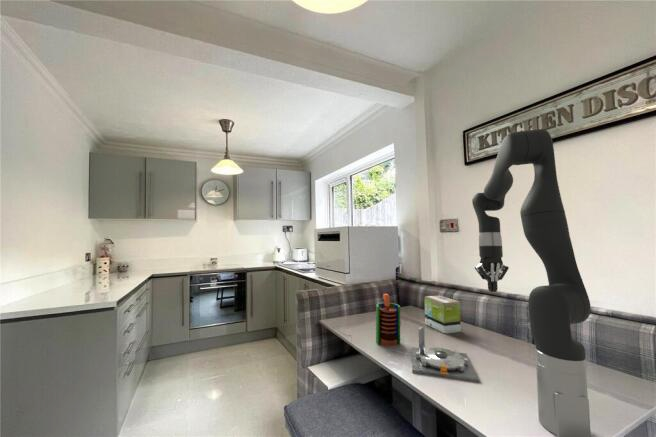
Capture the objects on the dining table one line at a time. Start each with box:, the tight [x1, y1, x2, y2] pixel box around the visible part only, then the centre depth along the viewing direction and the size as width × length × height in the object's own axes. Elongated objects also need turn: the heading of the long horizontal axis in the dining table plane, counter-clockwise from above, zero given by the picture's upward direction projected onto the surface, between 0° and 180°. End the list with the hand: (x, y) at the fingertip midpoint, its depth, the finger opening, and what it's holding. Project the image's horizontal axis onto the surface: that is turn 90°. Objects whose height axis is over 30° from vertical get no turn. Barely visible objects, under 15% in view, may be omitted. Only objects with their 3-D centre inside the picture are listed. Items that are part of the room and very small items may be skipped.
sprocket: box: [416, 326, 468, 372], centre depth 97 cm, size 17×17×10 cm
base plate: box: [411, 346, 480, 383], centre depth 97 cm, size 20×20×1 cm
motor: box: [375, 293, 401, 347], centre depth 118 cm, size 10×9×20 cm
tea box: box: [424, 295, 462, 334], centre depth 137 cm, size 15×10×15 cm
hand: (492, 291), depth 101 cm, fingers closed
